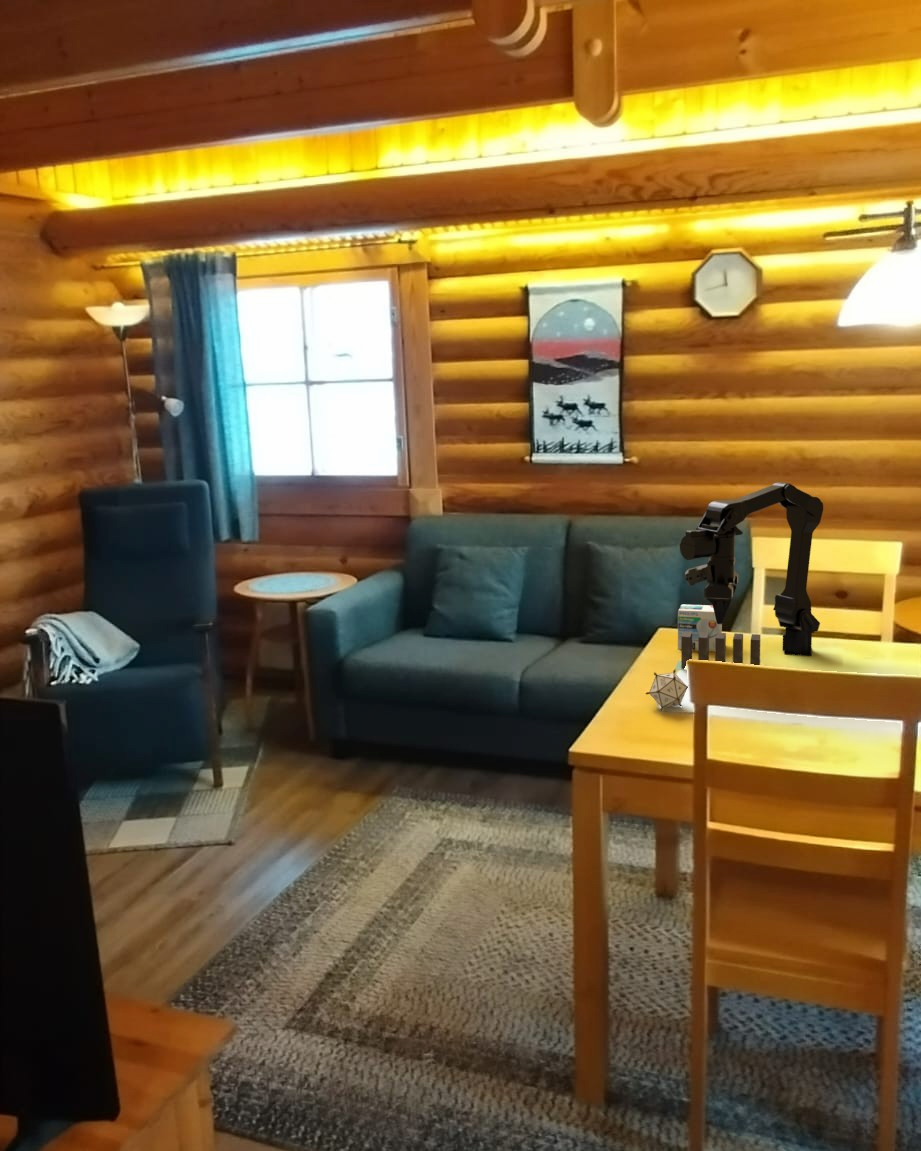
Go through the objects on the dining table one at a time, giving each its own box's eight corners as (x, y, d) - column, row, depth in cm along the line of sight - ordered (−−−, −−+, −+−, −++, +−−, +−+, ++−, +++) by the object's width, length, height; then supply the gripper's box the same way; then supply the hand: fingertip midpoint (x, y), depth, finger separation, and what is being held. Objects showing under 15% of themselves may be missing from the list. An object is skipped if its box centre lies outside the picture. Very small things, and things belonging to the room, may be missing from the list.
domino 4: (742, 665, 247) (743, 633, 245) (741, 671, 242) (741, 639, 240) (734, 665, 247) (734, 633, 246) (732, 671, 243) (733, 638, 241)
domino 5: (759, 666, 245) (760, 634, 244) (758, 672, 241) (759, 640, 239) (751, 666, 246) (751, 634, 244) (750, 672, 241) (750, 639, 240)
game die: (675, 725, 220) (690, 699, 213) (638, 711, 221) (651, 684, 214) (683, 695, 226) (698, 668, 219) (646, 681, 227) (660, 654, 220)
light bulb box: (677, 650, 263) (677, 609, 260) (680, 643, 269) (680, 603, 267) (719, 652, 259) (720, 611, 257) (722, 645, 265) (722, 605, 263)
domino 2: (708, 663, 249) (709, 632, 248) (706, 669, 245) (707, 637, 243) (700, 663, 250) (700, 631, 248) (698, 669, 245) (698, 637, 244)
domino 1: (692, 662, 250) (692, 631, 249) (689, 669, 246) (689, 637, 244) (683, 662, 251) (684, 631, 249) (681, 668, 247) (681, 636, 245)
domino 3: (725, 664, 248) (725, 632, 246) (723, 670, 243) (724, 638, 242) (717, 664, 249) (717, 632, 247) (715, 670, 244) (715, 638, 242)
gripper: (692, 547, 251) (691, 608, 255) (682, 561, 234) (681, 627, 237) (738, 548, 248) (737, 610, 251) (732, 563, 230) (731, 629, 234)
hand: (721, 619), depth 243 cm, fingers open, 9 cm apart
